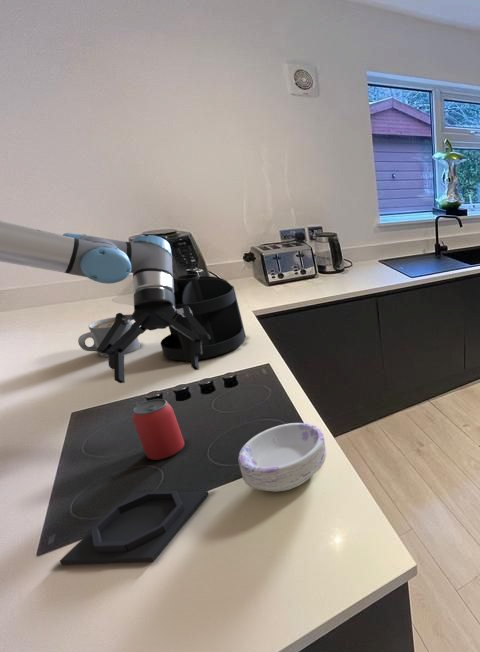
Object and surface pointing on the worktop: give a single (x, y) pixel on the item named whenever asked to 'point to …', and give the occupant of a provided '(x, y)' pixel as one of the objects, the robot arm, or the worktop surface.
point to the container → (205, 317)
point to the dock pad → (136, 528)
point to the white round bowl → (282, 457)
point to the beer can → (157, 429)
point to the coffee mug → (99, 333)
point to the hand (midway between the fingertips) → (158, 374)
